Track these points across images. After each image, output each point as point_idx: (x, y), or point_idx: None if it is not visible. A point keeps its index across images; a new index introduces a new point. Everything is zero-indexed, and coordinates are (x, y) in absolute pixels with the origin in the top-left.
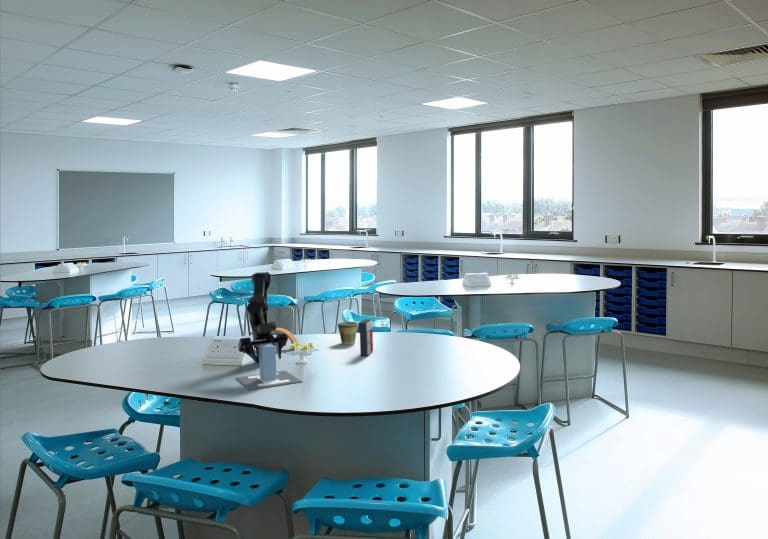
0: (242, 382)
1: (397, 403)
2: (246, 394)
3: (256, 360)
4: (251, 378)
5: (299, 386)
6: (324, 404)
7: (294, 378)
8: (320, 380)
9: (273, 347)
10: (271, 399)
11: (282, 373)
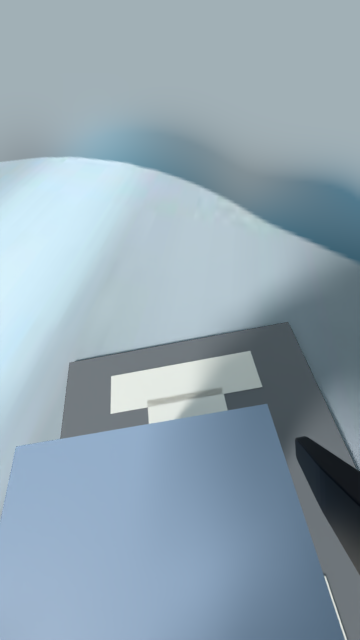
0: None
1: (15, 169)
2: (295, 282)
3: (308, 438)
4: None
5: (105, 312)
6: (115, 181)
7: (75, 424)
8: (8, 360)
9: (65, 439)
10: (215, 224)
11: None
